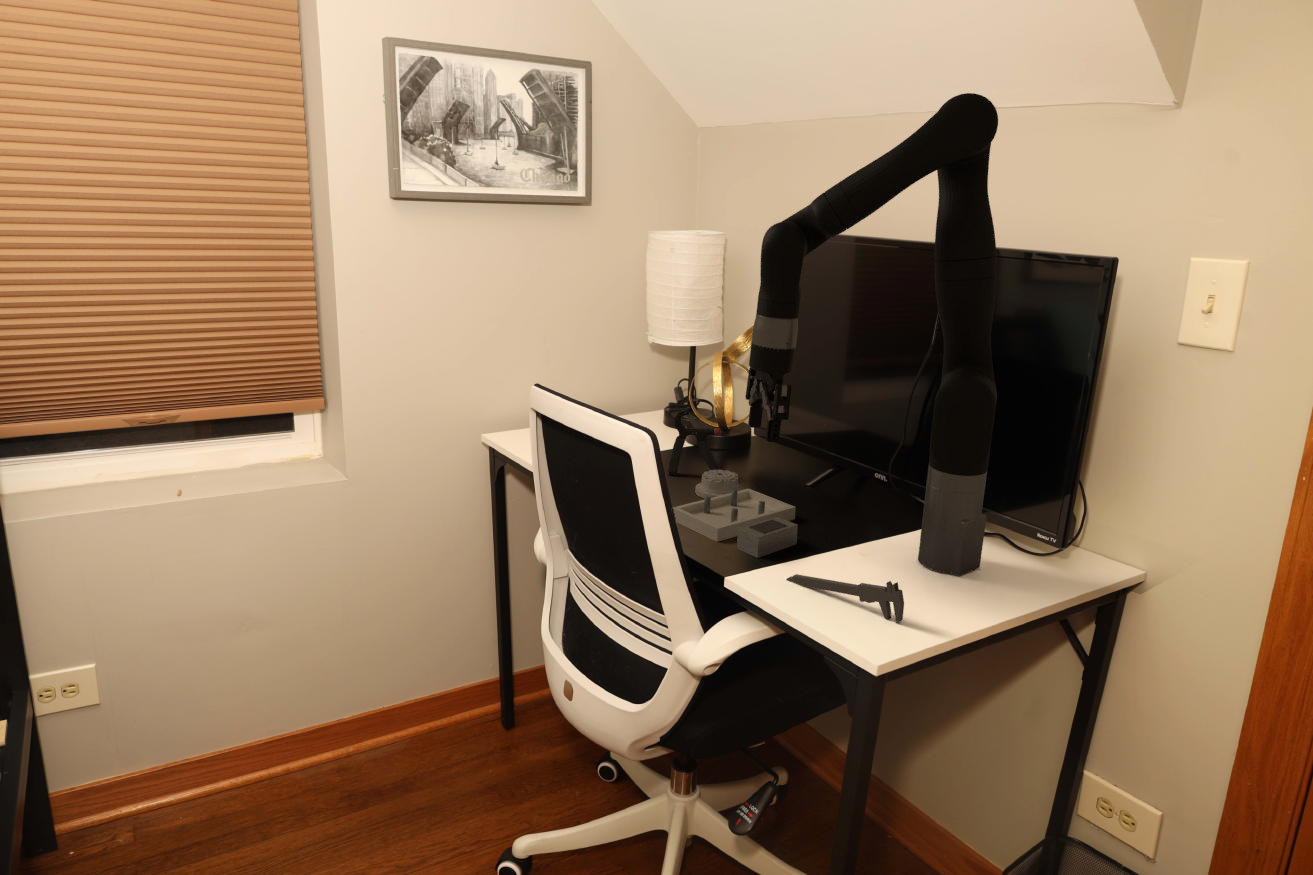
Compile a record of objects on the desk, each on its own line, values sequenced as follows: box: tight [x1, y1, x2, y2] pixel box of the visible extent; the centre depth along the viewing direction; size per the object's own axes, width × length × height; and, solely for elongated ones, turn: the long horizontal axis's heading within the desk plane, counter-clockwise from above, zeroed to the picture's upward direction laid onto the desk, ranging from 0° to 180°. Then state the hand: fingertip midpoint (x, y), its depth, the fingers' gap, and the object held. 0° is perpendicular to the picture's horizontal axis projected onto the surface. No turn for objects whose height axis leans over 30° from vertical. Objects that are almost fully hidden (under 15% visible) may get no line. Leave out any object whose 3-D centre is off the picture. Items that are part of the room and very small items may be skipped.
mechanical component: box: [695, 469, 745, 499], centre depth 180 cm, size 10×4×10 cm
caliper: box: [785, 573, 905, 624], centre depth 133 cm, size 20×1×6 cm, turn 45°
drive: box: [736, 517, 799, 559], centre depth 153 cm, size 5×10×4 cm, turn 130°
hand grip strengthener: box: [667, 408, 724, 477], centre depth 189 cm, size 2×12×15 cm, turn 78°
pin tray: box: [672, 488, 797, 543], centre depth 166 cm, size 13×20×4 cm, turn 128°
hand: (762, 433), depth 151 cm, fingers open, 8 cm apart
